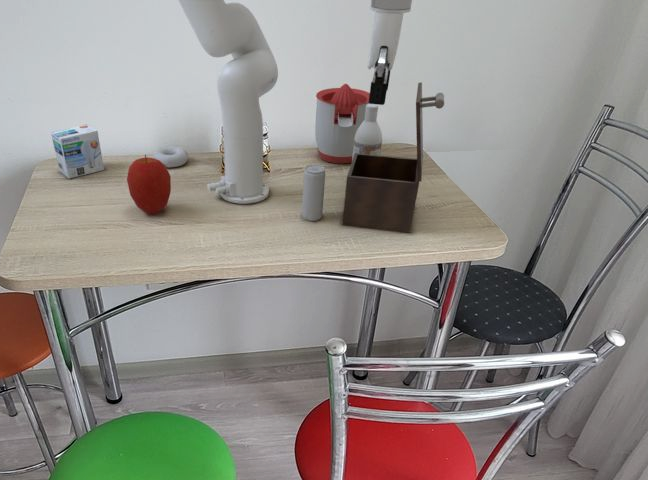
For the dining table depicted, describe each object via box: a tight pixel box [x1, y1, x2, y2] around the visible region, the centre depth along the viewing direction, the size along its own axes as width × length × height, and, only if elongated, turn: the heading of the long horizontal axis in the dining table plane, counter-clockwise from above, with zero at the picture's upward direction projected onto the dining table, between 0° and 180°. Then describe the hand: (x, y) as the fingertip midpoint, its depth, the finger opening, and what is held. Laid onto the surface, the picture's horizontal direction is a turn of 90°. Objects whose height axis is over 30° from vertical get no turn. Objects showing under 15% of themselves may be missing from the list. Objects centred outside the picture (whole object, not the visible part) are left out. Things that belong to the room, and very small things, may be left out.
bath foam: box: [352, 104, 383, 160], centre depth 143 cm, size 7×7×20 cm
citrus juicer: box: [314, 83, 370, 164], centre depth 157 cm, size 16×17×20 cm
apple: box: [126, 153, 172, 215], centre depth 132 cm, size 10×10×14 cm
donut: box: [152, 145, 189, 169], centre depth 159 cm, size 10×4×10 cm
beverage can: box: [301, 164, 326, 222], centre depth 131 cm, size 5×5×12 cm
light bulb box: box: [50, 124, 105, 180], centre depth 152 cm, size 11×7×11 cm, turn 129°
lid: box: [415, 82, 445, 183], centre depth 121 cm, size 16×15×5 cm
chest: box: [341, 153, 420, 234], centre depth 132 cm, size 16×15×12 cm
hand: (378, 96), depth 117 cm, fingers open, 9 cm apart
